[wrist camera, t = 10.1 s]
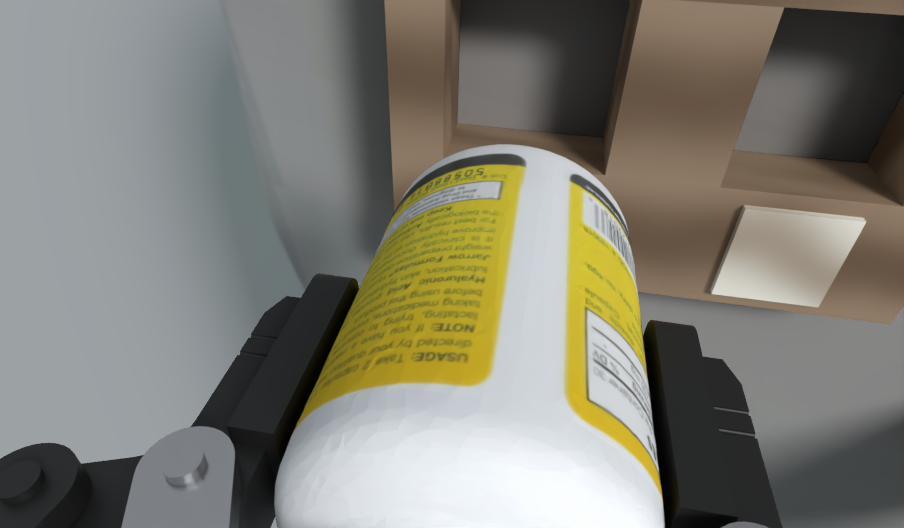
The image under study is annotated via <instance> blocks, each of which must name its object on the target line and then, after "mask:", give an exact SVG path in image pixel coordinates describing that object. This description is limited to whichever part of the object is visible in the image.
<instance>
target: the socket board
mask: <svg viewBox="0 0 904 528" xmlns="http://www.w3.org/2000/svg"><path fill="white" fill-rule="evenodd" d="M384 4H385V25H386V47H387V68H388V90H389V111H390V133H391V154H392V175H393V197H394V212H395V210H396V208H397V206H398V205H399V203H400V201H401V199H402V198H403V196H404V194H405V193H406V191H407V190H408V188H409V187H410V186H411V185H412V183H413V182H414V181H415V180H416V179H417V178H418V177H419V176H420V175H421V174H422V173H424V172H425V171H426V170H427V169H428V168H430V167H431V166H432V165H434V164H435V163H437V162H439V161H441V160H442V159H444V158H446V157H448V156H450V155H453V154H455V153H457V152H460V151H464V150H467V149H470V148H475V147H480V146H488V145H497V144H512V145H522V146H529V147H534V148H539V149H543V150H546V151H550V152H552V153H555V154H557V155H560V156H563V157H565V158H567V159H569V160H571V161H572V162H574V163H576V164H578V165H579V166H581V167H582V168H584V169H585V170H587V171H588V172H589V173H591V174H592V175H593V176H594V177H595V178H597V179H598V180H599V181H600V182H601V183H602V184H603V185H604V186H605V188H606V189H607V190H608V191H609V192H610V194H611V195H612V197H613V198H614V200H615V201H616V203H617V204H618V206H619V208H620V210H621V212H622V214H623V216H624V219H625V221H626V224H627V228H628V232H629V236H630V240H631V245H632V252H633V260H634V266H635V275H636V283H637V291H638V292H643V293H650V294H658V295H666V296H674V297H682V298H689V299H697V300H705V301H713V302H720V303H728V304H736V305H744V306H752V307H759V308H767V309H775V310H783V311H790V312H798V313H806V314H814V315H822V316H829V317H837V318H845V319H853V320H860V321H868V322H876V323H884V324H892V322H893V321H894V319H895V318H896V316H897V315H898V313H899V312H900V310H901V309H902V308H903V306H904V93H903V95H902V97H901V99H900V101H899V102H898V104H897V106H896V108H895V110H894V112H893V114H892V116H891V118H890V120H889V122H888V123H887V125H886V127H885V129H884V131H883V133H882V135H881V137H880V139H879V141H878V143H877V144H876V146H875V148H874V150H873V152H872V154H871V156H870V158H869V160H868V162H867V163H858V162H848V161H837V160H827V159H816V158H806V157H796V156H785V155H775V154H765V153H754V152H744V151H734V147H735V144H736V141H737V138H738V136H739V133H740V130H741V127H742V124H743V122H744V119H745V116H746V113H747V111H748V108H749V105H750V102H751V99H752V97H753V94H754V91H755V88H756V85H757V83H758V80H759V77H760V74H761V71H762V69H763V66H764V63H765V60H766V57H767V55H768V52H769V49H770V46H771V44H772V41H773V38H774V35H775V32H776V30H777V27H778V24H779V21H780V18H781V16H782V13H783V10H784V7H786V8H801V9H816V10H832V11H847V12H862V13H877V14H892V15H904V0H630V3H629V8H628V13H627V18H626V23H625V28H624V33H623V38H622V43H621V48H620V53H619V58H618V63H617V68H616V73H615V78H614V83H613V88H612V93H611V98H610V103H609V108H608V113H607V118H606V123H605V128H604V133H603V138H599V137H588V136H578V135H568V134H557V133H547V132H537V131H526V130H516V129H506V128H495V127H485V126H474V125H464V124H457V115H458V82H459V50H460V17H461V0H384Z"/></svg>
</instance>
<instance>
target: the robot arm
mask: <svg viewBox="0 0 904 528" xmlns="http://www.w3.org/2000/svg"><path fill="white" fill-rule="evenodd" d="M358 291H359V287H358V282H357V280H356V279H354V278H347V277H340V276H333V275H325V274H316V275H315V276H314V277H313V279H312V280H311V282H310V284H309V285H308V287H307V289H306V290H305V292H304V294H303V295H302V297H301V298H296V297H289V296H287V297H285V298H284V299H282V300H281V301H280V302H278V303H277V304H276V305H274V306H273V307H272V308H270V309H269V310H268V311H267V312H265V313H264V315H263V316H262V318H261V319H260V321H259V323H258V324H257V326H256V327H255V329H254V330H253V332H252V333H251V338H248V340H247V341H246V343H245V344H244V346H243V347H242V349H241V351H240V355H237V357H236V358H235V360H234V362H233V363H232V365H231V366H230V368H229V369H228V371H227V372H226V374H225V375H224V377H223V379H222V380H221V382H220V383H219V385H218V386H217V388H216V390H215V391H214V393H213V394H212V396H211V397H210V399H209V401H208V402H207V404H206V405H205V407H204V408H203V410H202V411H201V413H200V414H199V416H198V417H197V419H196V420H195V422H194V423H193V425H192V426H191V427H189V428H184V429H181V430H178V431H175V432H173V433H171V434H169V435H167V436H165V437H164V438H162V439H161V440H159V441H158V442H157V443H155V444H154V445H153V446H152V447H151V448H150V449H149V450H148V451H147V452H146V453H145V454H144V455H142V456H137V457H131V458H124V459H116V460H109V461H101V462H92V463H84V464H81V463H80V462H79V460H78V459H77V457H76V456H75V454H74V453H73V452H72V451H71V450H70V449H69V448H67V447H66V446H63V445H60V444H55V443H41V444H35V445H31V446H27V447H24V448H21V449H19V450H16V451H14V452H12V453H10V454H8V455H6V456H4V457H3V458H1V459H0V528H270V527H271V525H272V523H273V520H274V518H275V507H274V496H275V482H276V478H277V475H278V471H279V467H280V464H281V461H282V459H283V456H284V454H285V452H286V449H287V446H288V444H289V441H290V438H291V436H292V434H293V432H294V430H295V428H296V425H297V423H298V421H299V419H300V417H301V415H302V413H303V411H304V408H305V405H306V403H307V401H308V399H309V397H310V395H311V393H312V391H313V389H314V387H315V385H316V382H317V380H318V378H319V375H320V373H321V371H322V368H323V366H324V364H325V362H326V360H327V357H328V355H329V353H330V351H331V349H332V347H333V344H334V342H335V340H336V338H337V336H338V334H339V332H340V329H341V327H342V325H343V323H344V321H345V318H346V316H347V314H348V312H349V310H350V308H351V305H352V303H353V301H354V299H355V297H356V295H357V293H358ZM643 341H644V350H645V358H646V367H647V376H648V384H649V391H650V400H651V409H652V417H653V425H654V435H655V440H656V448H657V458H658V466H659V473H660V479H661V488H662V496H663V506H664V517H665V528H782V525H781V522H780V518H779V515H778V511H777V508H776V504H775V501H774V497H773V494H772V490H771V487H770V483H769V480H768V476H767V473H766V469H765V466H764V462H763V459H762V455H761V452H760V448H759V444H758V441H757V439H755V430H754V427H753V423H752V420H751V416H749V415H748V412H749V409H748V406H747V402H746V399H745V395H744V392H743V388H742V385H741V383H740V382H739V380H738V379H737V378H736V377H735V375H734V374H733V373H732V371H731V370H730V369H729V367H728V366H727V365H726V364H725V362H724V361H723V360H722V359H716V358H709V357H703V356H702V352H701V347H700V343H699V339H698V334H697V331H696V329H695V327H694V326H691V325H684V324H676V323H669V322H662V321H654V320H650V321H649V322H648V324H647V326H646V329H645V332H644V335H643Z"/></svg>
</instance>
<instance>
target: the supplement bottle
mask: <svg viewBox="0 0 904 528" xmlns="http://www.w3.org/2000/svg"><path fill="white" fill-rule="evenodd" d="M274 507H275V517H276V522H277V527H278V528H665V517H664V506H663V496H662V488H661V479H660V473H659V466H658V458H657V448H656V440H655V435H654V425H653V417H652V409H651V400H650V391H649V384H648V376H647V367H646V358H645V350H644V341H643V333H642V325H641V317H640V309H639V300H638V291H637V283H636V275H635V266H634V260H633V252H632V245H631V240H630V236H629V232H628V228H627V224H626V221H625V219H624V216H623V214H622V212H621V210H620V208H619V206H618V204H617V203H616V201H615V200H614V198H613V197H612V195H611V194H610V192H609V191H608V190H607V189H606V188H605V186H604V185H603V184H602V183H601V182H600V181H599V180H598V179H597V178H595V177H594V176H593V175H592V174H591V173H589V172H588V171H587V170H585V169H584V168H582V167H581V166H579V165H578V164H576V163H574V162H572V161H571V160H569V159H567V158H565V157H563V156H560V155H557V154H555V153H552V152H550V151H546V150H543V149H539V148H534V147H529V146H522V145H512V144H497V145H488V146H480V147H475V148H470V149H467V150H464V151H460V152H457V153H455V154H453V155H450V156H448V157H446V158H444V159H442V160H441V161H439V162H437V163H435V164H434V165H432V166H431V167H430V168H428V169H427V170H426V171H425V172H424V173H422V174H421V175H420V176H419V177H418V178H417V179H416V180H415V181H414V182H413V183H412V185H411V186H410V187H409V188H408V190H407V191H406V193H405V194H404V196H403V198H402V199H401V201H400V203H399V205H398V206H397V208H396V210H395V212H394V214H393V216H392V218H391V221H390V223H389V225H388V227H387V229H386V231H385V233H384V236H383V238H382V241H381V243H380V245H379V247H378V250H377V252H376V254H375V256H374V258H373V261H372V263H371V265H370V267H369V269H368V271H367V274H366V276H365V278H364V280H363V282H362V284H361V286H360V288H359V291H358V293H357V295H356V297H355V299H354V301H353V303H352V305H351V308H350V310H349V312H348V314H347V316H346V318H345V321H344V323H343V325H342V327H341V329H340V332H339V334H338V336H337V338H336V340H335V342H334V344H333V347H332V349H331V351H330V353H329V355H328V357H327V360H326V362H325V364H324V366H323V368H322V371H321V373H320V375H319V378H318V380H317V382H316V385H315V387H314V389H313V391H312V393H311V395H310V397H309V399H308V401H307V403H306V405H305V408H304V411H303V413H302V415H301V417H300V419H299V421H298V423H297V425H296V428H295V430H294V432H293V434H292V436H291V438H290V441H289V444H288V446H287V449H286V452H285V454H284V456H283V459H282V461H281V464H280V467H279V471H278V475H277V478H276V482H275V496H274Z"/></svg>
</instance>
